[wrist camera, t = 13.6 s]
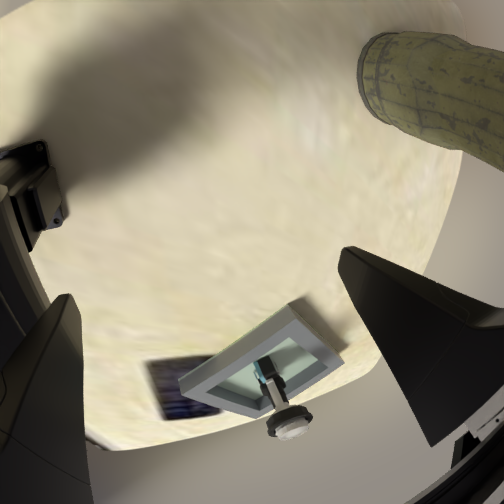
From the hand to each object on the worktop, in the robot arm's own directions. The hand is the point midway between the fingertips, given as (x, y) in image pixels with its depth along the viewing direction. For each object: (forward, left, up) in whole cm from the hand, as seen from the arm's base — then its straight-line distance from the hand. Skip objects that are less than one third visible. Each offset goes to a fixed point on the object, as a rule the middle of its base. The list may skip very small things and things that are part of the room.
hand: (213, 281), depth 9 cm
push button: (+8, -27, -13) cm, 31 cm away
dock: (+8, -27, -14) cm, 31 cm away
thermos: (+18, +7, -13) cm, 23 cm away
